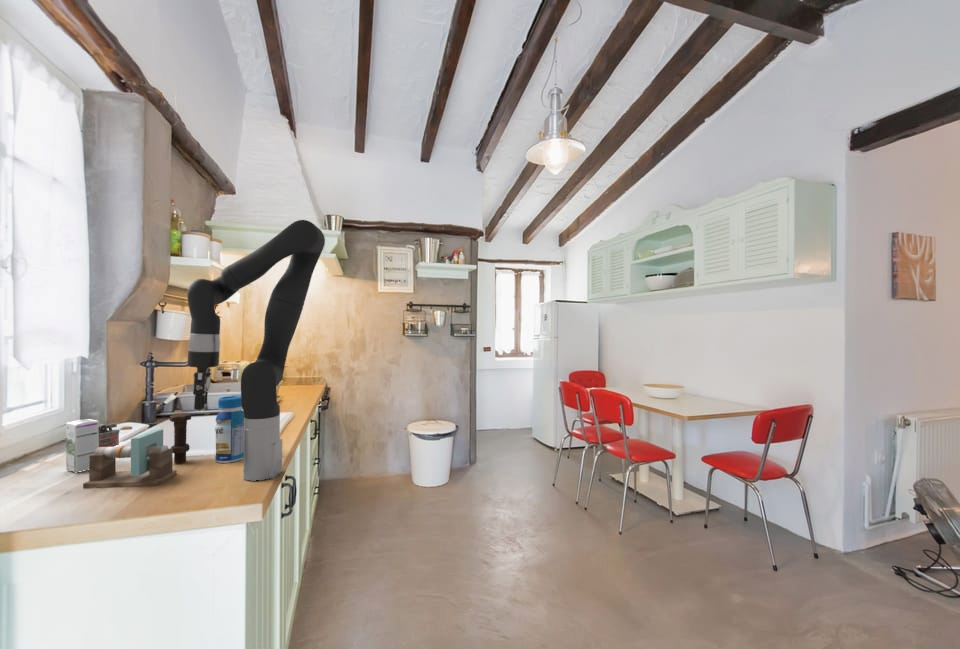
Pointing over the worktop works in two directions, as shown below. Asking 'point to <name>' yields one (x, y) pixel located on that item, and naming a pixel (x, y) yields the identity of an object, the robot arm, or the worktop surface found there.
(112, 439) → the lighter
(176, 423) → the bolt
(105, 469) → the pipe stand
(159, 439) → the collar
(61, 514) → the worktop surface
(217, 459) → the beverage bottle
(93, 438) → the syrup box
